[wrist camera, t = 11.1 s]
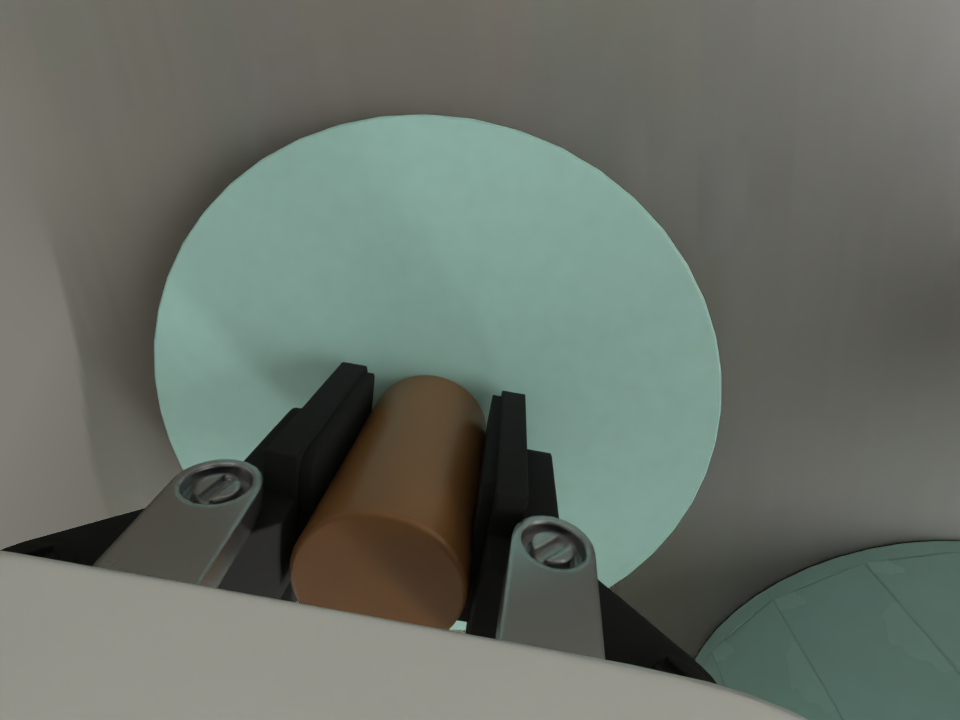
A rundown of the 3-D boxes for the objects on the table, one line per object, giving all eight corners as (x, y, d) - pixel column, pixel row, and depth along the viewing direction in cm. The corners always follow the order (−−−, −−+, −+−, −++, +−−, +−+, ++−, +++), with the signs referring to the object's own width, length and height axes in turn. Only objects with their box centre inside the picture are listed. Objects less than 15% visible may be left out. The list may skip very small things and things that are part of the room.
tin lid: (163, 67, 11) (-237, -37, 5) (793, 177, 11) (1107, 199, 5) (196, 556, 16) (18, 777, 10) (622, 631, 16) (681, 896, 10)
